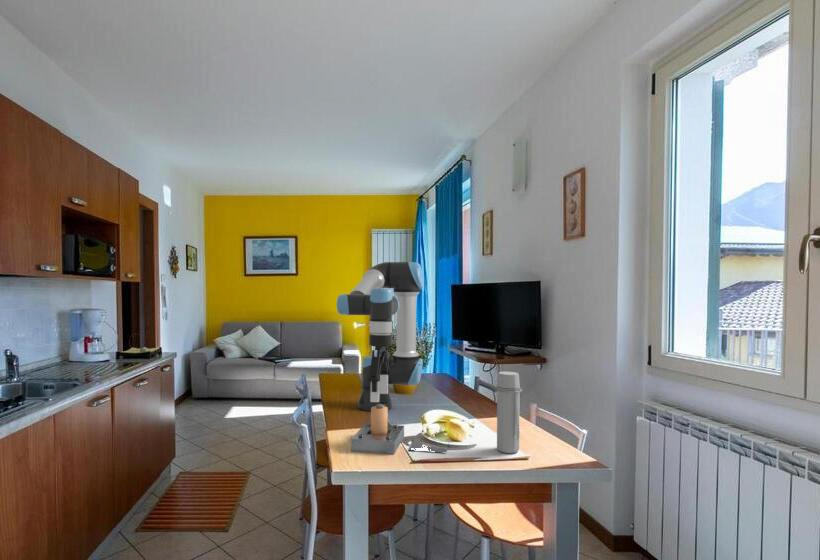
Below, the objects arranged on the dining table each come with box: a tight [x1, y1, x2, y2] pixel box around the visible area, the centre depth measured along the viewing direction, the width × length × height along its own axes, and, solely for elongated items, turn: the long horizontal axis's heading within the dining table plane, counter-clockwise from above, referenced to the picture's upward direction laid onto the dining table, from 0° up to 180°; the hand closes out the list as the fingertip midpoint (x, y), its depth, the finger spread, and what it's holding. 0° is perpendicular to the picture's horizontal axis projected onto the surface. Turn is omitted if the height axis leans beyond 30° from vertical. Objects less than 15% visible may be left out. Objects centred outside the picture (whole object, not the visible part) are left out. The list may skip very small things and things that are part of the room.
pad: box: [408, 438, 448, 452], centre depth 152 cm, size 12×12×1 cm
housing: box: [350, 422, 405, 455], centre depth 154 cm, size 18×14×5 cm
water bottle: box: [496, 371, 523, 454], centre depth 148 cm, size 9×8×25 cm
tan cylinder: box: [370, 404, 389, 436], centre depth 154 cm, size 6×6×13 cm
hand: (379, 397), depth 154 cm, fingers open, 13 cm apart
